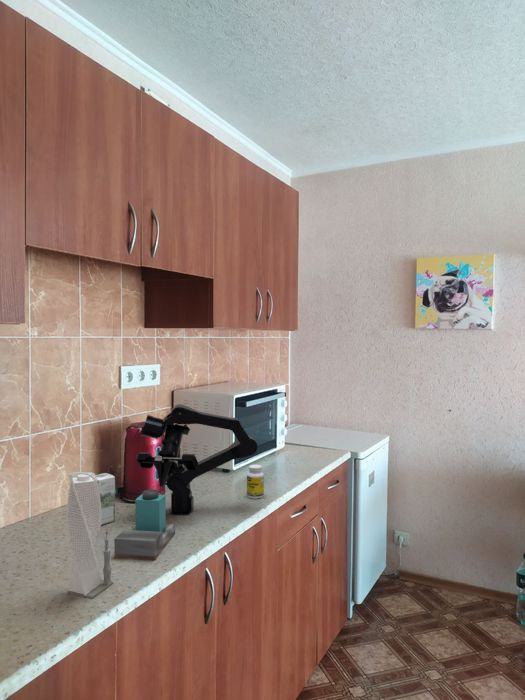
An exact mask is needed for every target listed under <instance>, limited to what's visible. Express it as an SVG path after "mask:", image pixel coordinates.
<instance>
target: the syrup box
mask: <svg viewBox="0 0 525 700" xmlns="http://www.w3.org/2000/svg"><path fill="white" fill-rule="evenodd" d="M95 478H96V480H97V483H98V488H99V494H100V501H101V526H104V525H107V524H111V523H112V522H115V521H116V477H115V475H113V474H110V473H107V472H104V473H100V474H95Z"/></svg>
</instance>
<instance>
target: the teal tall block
mask: <svg viewBox="0 0 525 700" xmlns="http://www.w3.org/2000/svg"><path fill="white" fill-rule="evenodd" d="M134 502H135V503H134V506H135V511H134V512H135V526H136V530H137V531H155V532H163V533H164V532H165V530H166V529H167V528H166V524H167V523H166V494H159V490H158V489H154V488H153V489H152V488H151V489H150V488H149V489H146V490H143V491H142V494H140V495H139V496H138V497H136V499H135V501H134Z"/></svg>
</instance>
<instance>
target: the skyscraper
mask: <svg viewBox="0 0 525 700" xmlns="http://www.w3.org/2000/svg"><path fill="white" fill-rule="evenodd" d="M95 475H96V474H95V473H94V472H93V471H92V472H91V471H90V472H88V471H87V472H86V471H74V472H71V473H69V474H68V478H69V480H70V481H69V482H70V483H69V487H68V488H69V489H68V495H67V496H68V497H67V504H66V531H67V538H68V546H69V550H70V553H71V558H72V562H71V569H70V575H69V580H68V586H67V593H68V594H71V595H76V596H80V597H84V598H88V599H91V600H92V599H94V598H96V597H97V596H98V595H100V594H101V593H103V592H104V591H105V590H106V589H108V588H109V587H111V586H113V584H114V582H113V581H112V580H111V575H112V567H111V548H109V537H108V531H105V539H104V541H105V542H104V543H105V545H104V546H105V547H104V549H103V561H104V563H103V569H102V572H103V579H102V578H101V573H100V568H99V566H98V560H97V557H96V550H97V546H98V542H99V537H100V531H101V526H102V525H101V501H100V494H99V488H98V483H97V480H96V478H95Z"/></svg>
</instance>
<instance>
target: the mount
mask: <svg viewBox="0 0 525 700" xmlns="http://www.w3.org/2000/svg"><path fill="white" fill-rule="evenodd" d="M175 535H176V523H170V524H169V525H168V527H167V528H166V530H165V532H164V533H163V532H155V531H137V530H136V525H134V526H133V527H132V529H123V530H122V531H121V532H119V534H118V535H117V536H115V538H114V543H113V544H114V558H115V559H131V560H147V561H156V560H157V558H158V557H159V555H160V554H161V553H162V552H163V550H164V549H165V548H166V547H167V545H168V544H169V542H171V539H172V538H173V537H174V536H175Z"/></svg>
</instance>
